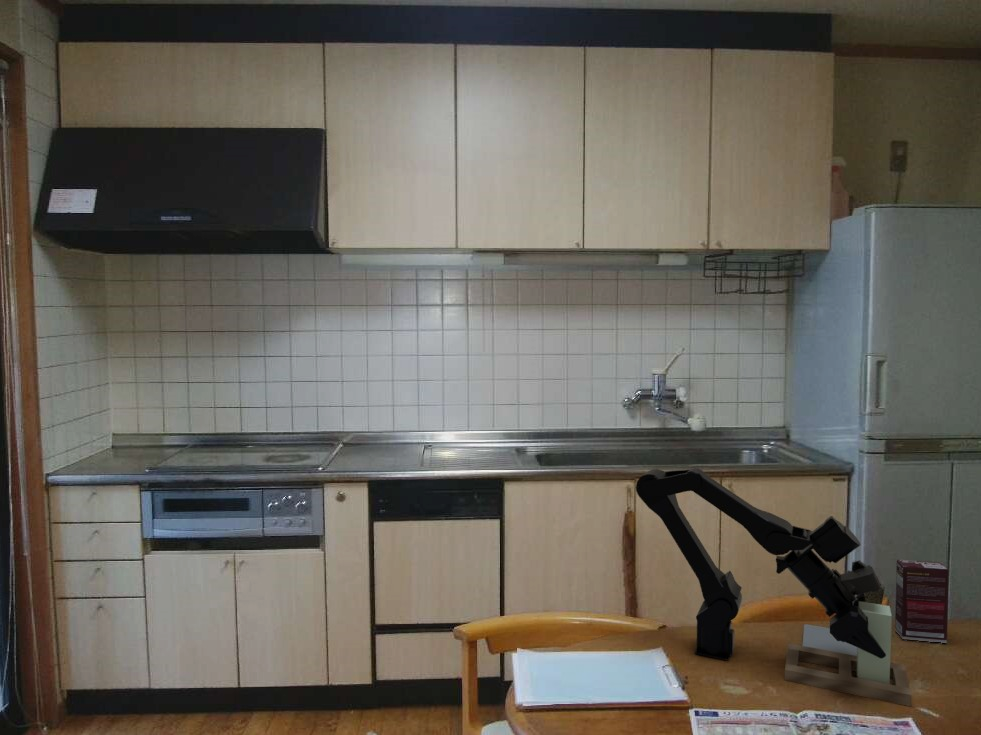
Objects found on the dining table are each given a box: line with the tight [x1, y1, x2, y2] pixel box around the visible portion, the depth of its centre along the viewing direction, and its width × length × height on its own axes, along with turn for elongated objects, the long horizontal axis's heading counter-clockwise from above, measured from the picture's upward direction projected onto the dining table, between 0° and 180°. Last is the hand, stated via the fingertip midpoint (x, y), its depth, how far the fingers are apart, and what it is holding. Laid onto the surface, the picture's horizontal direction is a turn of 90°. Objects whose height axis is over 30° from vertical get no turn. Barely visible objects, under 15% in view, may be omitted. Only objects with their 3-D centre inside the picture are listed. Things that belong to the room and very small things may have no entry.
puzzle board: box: [784, 642, 912, 707], centre depth 128 cm, size 20×12×2 cm, turn 64°
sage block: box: [855, 601, 893, 684], centre depth 126 cm, size 5×5×14 cm
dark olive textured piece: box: [865, 582, 886, 605], centre depth 155 cm, size 8×7×8 cm
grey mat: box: [801, 623, 857, 656], centre depth 141 cm, size 12×12×1 cm
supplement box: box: [894, 559, 950, 644], centre depth 145 cm, size 9×5×16 cm, turn 77°
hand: (882, 646), depth 125 cm, fingers open, 9 cm apart
